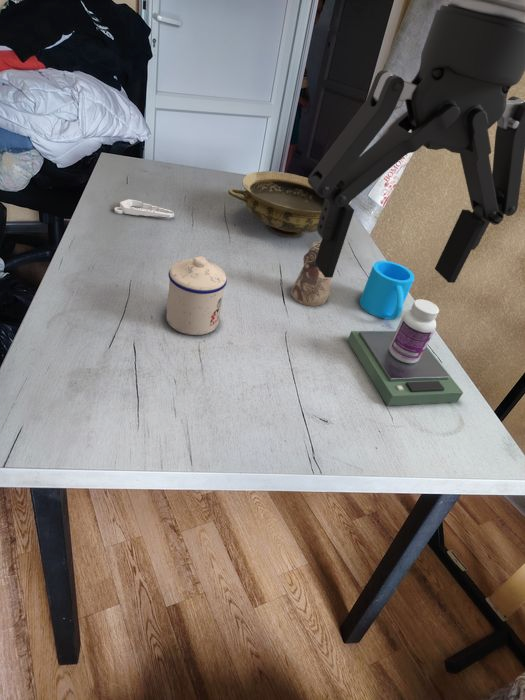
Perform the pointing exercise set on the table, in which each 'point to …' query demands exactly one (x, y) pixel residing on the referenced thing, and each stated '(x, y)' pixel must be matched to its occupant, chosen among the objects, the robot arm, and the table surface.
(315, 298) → the figurine
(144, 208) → the white flat elongated piece
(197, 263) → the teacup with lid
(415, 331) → the pill bottle
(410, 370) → the scale pan
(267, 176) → the ceramic bowl
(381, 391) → the scale
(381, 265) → the mug
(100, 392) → the table surface
